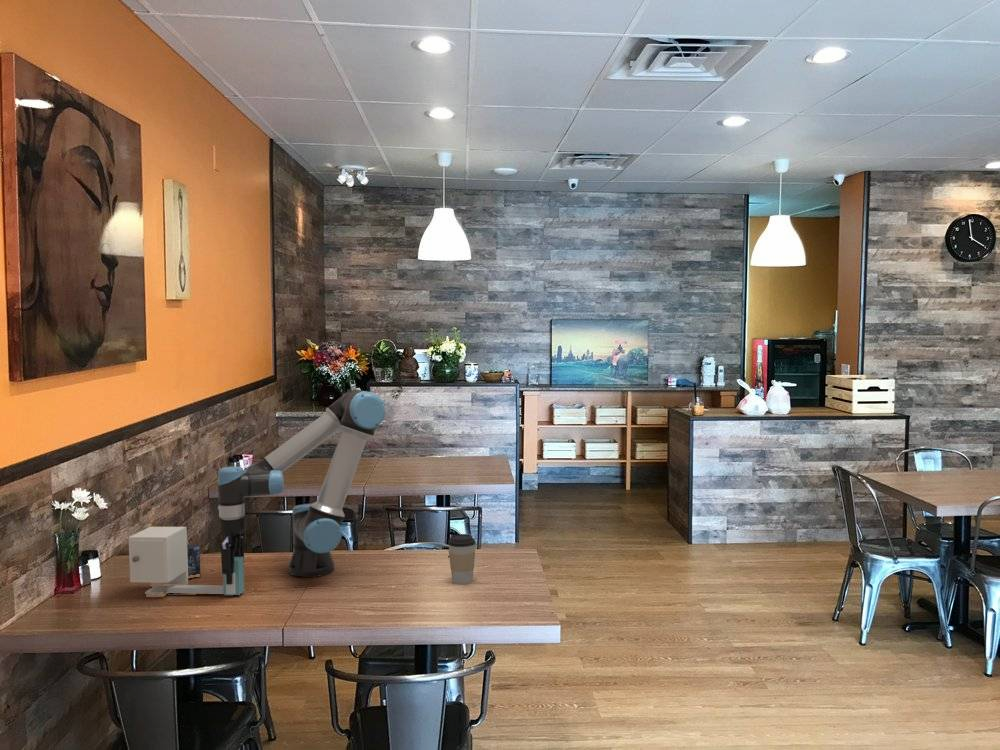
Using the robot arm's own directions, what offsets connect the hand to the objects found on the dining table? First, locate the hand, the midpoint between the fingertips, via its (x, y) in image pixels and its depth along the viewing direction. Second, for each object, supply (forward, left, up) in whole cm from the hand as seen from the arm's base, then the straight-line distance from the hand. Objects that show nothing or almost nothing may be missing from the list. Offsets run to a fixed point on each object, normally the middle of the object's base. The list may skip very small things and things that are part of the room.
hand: (234, 591), depth 243 cm
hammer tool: (+9, 0, -1) cm, 9 cm away
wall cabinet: (+24, -1, -1) cm, 24 cm away
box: (+23, -16, -1) cm, 28 cm away
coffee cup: (-70, -16, -1) cm, 72 cm away
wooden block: (+24, 0, -2) cm, 24 cm away
